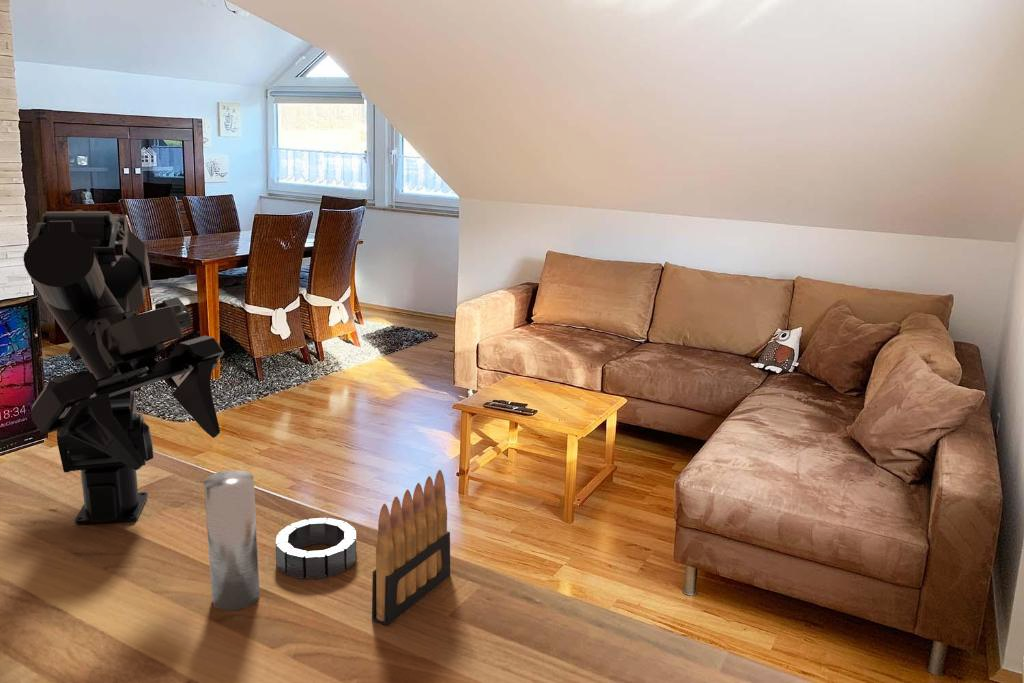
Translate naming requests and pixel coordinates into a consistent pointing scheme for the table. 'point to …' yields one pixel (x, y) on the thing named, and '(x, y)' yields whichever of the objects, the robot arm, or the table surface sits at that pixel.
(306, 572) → the ring
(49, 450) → the table surface
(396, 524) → the ammunition clip
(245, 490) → the silver tall cylinder
